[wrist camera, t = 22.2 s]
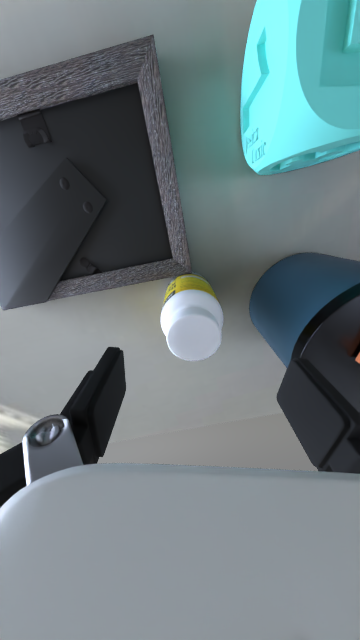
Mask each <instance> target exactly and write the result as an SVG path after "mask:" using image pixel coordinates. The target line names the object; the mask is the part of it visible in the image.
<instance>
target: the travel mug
mask: <svg viewBox="0 0 360 640" xmlns="http://www.w3.org/2000/svg"><path fill="white" fill-rule="evenodd" d="M249 310H250V316H251V320H252V322H253V324H254V326H255V327H256V328H257V330H258V331H259V332H260V334H261V335H262V336H263V338H264V339H265V340H266V341H267V343H268V344H269V345H270V347H271V348H272V349H273V351H274V352H275V353H276V355H277V356H278V357H279V358H280V360H281V361H282V362H283V364H284V365H285V366H286V368H288V365H289V363H290V361H291V360H293V359H294V358H306V359H308V360H309V361H310V362H311V363H312V364H313V365H314V366H315V367H316V368H317V370H318V371H319V372H320V373H321V374H322V375H323V376H324V377H325V378H326V379H327V380H328V381H329V382H330V383H331V384H332V385H333V386H334V387H335V388H336V389H337V390H338V391H339V392H340V393H341V394H342V395H343V396H344V398H345V399H346V400H347V401H348V402H349V403H350V404H351V405H352V406H353V407H354V408H355V409H356V410H357V411H358V412H359V413H360V364H359V363H358V362H357V361H355V359H356V357H357V356H358V354H359V352H360V261H355V260H350V259H345V258H340V257H335V256H329V255H324V254H319V253H300V254H296V255H292V256H290V257H287V258H285V259H283V260H281V261H279V262H278V263H276V264H275V265H273V266H272V267H271V268H270V269H269V270H267V271H266V272H265V274H264V275H263V276H262V277H261V278H260V280H259V281H258V282H257V284H256V286H255V288H254V290H253V292H252V295H251V299H250V306H249Z"/></svg>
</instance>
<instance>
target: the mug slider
mask: <svg viewBox="0 0 360 640" xmlns="http://www.w3.org/2000/svg"><path fill="white" fill-rule="evenodd" d="M355 361H357V362H358V363H359V364H360V352H359V354H358V356H357V357H356V359H355Z"/></svg>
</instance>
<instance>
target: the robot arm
mask: <svg viewBox="0 0 360 640" xmlns="http://www.w3.org/2000/svg"><path fill="white" fill-rule="evenodd" d="M125 391H126V381H125V369H124V356H123V351H122V350H120V348H117V347H108V348H107V350H106V351H105V353H104V354H103V356H102V358H101V359H100V361H99V362H98V364H97V366H96V367H95V369H94V370H93V371H91V370H90V371H88V373H87V374H86V375H85V377H84V378H83V380H82V381H81V383H80V384H79V386H78V387H77V389H76V391H75V392H74V394H73V395H72V397H71V398H70V400H69V401H68V403H67V404H66V406H65V407H64V409H63V410H62V412H61V413H60V415H59V414H55V415H50V416H47V417H44V418H42V419H40V420H39V421H37V422H36V423H35V424H33V425H32V426H31V427H30V428H29V429H28V431H27V432H26V434H25V436H24V438H23V442H22V443H20V444H18V445H16V446H15V447H13V448H11V449H9V450H7V451H5V452H4V453H2V454H0V640H360V413H359V412H358V411H357V410H356V409H355V408H354V407H353V406H352V405H351V404H350V403H349V402H348V401H347V400H346V399H345V398H344V396H343V395H342V394H341V393H340V392H339V391H338V390H337V389H336V388H335V387H334V386H333V385H332V384H331V383H330V382H329V381H328V380H327V379H326V378H325V377H324V376H323V375H322V374H321V373H320V372H319V371H318V370H317V368H316V367H315V366H314V365H313V364H312V363H311V362H310V361H309V360H308V359H306V358H294V359H293V360H291V361H290V363H289V365H288V368H287V370H286V373H285V376H284V378H283V381H282V383H281V386H280V388H279V391H278V393H277V401H278V403H279V405H280V407H281V409H282V410H283V412H284V414H285V416H286V418H287V419H288V421H289V423H290V425H291V427H292V428H293V430H294V432H295V434H296V436H297V437H298V439H299V441H300V443H301V445H302V446H303V448H304V450H305V452H306V454H307V455H308V457H309V459H310V461H311V463H312V464H313V465H314V466H315V467H317V469H318V471H301V470H300V471H299V470H281V469H261V468H239V467H238V468H237V467H217V466H192V465H169V464H133V463H103V464H102V463H101V464H97V462H98V459H99V457H103V455H104V453H105V450H106V447H107V444H108V441H109V439H110V436H111V433H112V430H113V427H114V424H115V421H116V418H117V415H118V412H119V410H120V407H121V404H122V401H123V398H124V395H125Z"/></svg>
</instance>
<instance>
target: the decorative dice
mask: <svg viewBox="0 0 360 640" xmlns="http://www.w3.org/2000/svg"><path fill="white" fill-rule="evenodd" d="M240 122H241V138H242V146H243V151H244V155H245V159H246V161H247V163H248V165H249V166H250V167H251V168H252V169H253V170H254V171H255V172H256V173H257V174H259V175H270V174H277V173H282V172H287V171H292V170H296V169H300V168H304V167H308V166H312V165H315V164H319V163H322V162H325V161H329V160H332V159H335V158H338V157H341V156H344V155H347V154H350V153H353V152H355V151H358V150H360V0H257V2H256V6H255V9H254V12H253V16H252V20H251V25H250V29H249V34H248V39H247V45H246V51H245V58H244V66H243V75H242V86H241V106H240Z"/></svg>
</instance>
